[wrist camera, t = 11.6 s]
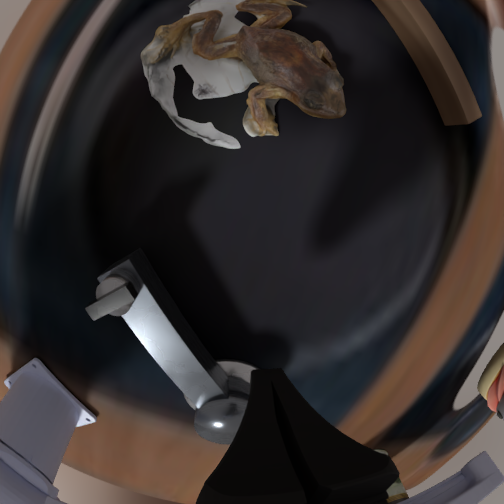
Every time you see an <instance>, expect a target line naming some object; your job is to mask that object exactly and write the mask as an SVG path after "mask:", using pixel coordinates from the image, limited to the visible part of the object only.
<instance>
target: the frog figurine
mask: <svg viewBox="0 0 504 504" xmlns="http://www.w3.org/2000/svg"><path fill="white" fill-rule="evenodd" d="M289 5H298V6H302V7H306V6H305V5H302V4H301V3H298V2H295V1H292V0H196V1H194V2H193V3H191V4H190V5H189V6H188V7H190V9H191V10H190V13H189V14H188V15H184V16H183V18H182V19H180V20H179V21H177V22H175V23H173V24H170V25H164V26H160V27H158V29H157V30H156V32H155V37H154V39H153V41H152V42H151V43H150V44H148V45H147V46H146V47H145V49H144V50H143V51H142V52H141V60H142V64H143V68H144V74H145V77H146V78H147V79H148V83H149V89H150V91H151V96H152V97H154V98H155V99H156V100H157V101H158V102H159V103H160V104H161V106H162V108H163V109H164V110H165V111H166V112H167V114H168V115H169V117H170V118H171V119H172V120H173V122H174V123H175V125H176V126H177V127H178V128H180V129H181V130H183V131H185V132H186V133H187V134H189V135H191V136H194V137H199V138H201V139H203V140H204V141H205V142H206V143H209V144H212V145H215V146H221V147H225V148H229V149H237V148H240V144H239V142H238V141H237V140H236V139H235V138H234V137H232V136H229V135H226V134H224V133H221V132H219V131H218V130H216V129H215V128H214V126H213V125H212V123H211V122H208V123H205V124H202V123H197V122H194V121H192V120H188V119H184V118H180V117H179V116H178V114H177V110H176V107H175V104H174V100H173V92H174V84H175V73H174V71H173V68H174V67H175V66H176V65H180V64H182V65H183V66H184V68H185V69H186V71H187V72H188V74H189V75H190V76H191V77H192V79H193V80H194V86H193V95H194V96H195V97H196V98H198V99H200V100H201V99H207V98H217V97H226V96H229V95H232V94H235V93H241V92H243V91H245V90H247V89H248V87H249V85H250V84H251V83H253V82H258V83H259V85H257V86H256V87H255V88H253V89H251V90H250V92H249V93H248V96H249V97H248V99H247V104H248V105H249V106H248V108H247V110H246V112H245V114H244V118H243V126H244V128H245V130H246V132H247V133H248V134H249V135H250V136H252V137H255V136H257V135H258V136H264V135H274V136H278V135H279V132H278V128H277V127H278V124H277V123H276V122H275V121H274V118H275V117H274V116H275V110H274V106H275V104H276V103H277V101H278V100H279V99H280V98H286V99H288V100H290V101H291V102H293V103H294V104H295V105H297V106H298V107H299V108H300V109H301V110H302V111H303V112H305V113H306V114H309V115H311V116H314V117H319V118H327V119H333V118H340V117H342V116H344V115H345V114H346V106H345V99H344V93H343V89H342V86H343V85H344V82H343V81H344V79H343V78H342V76H341V75H340V74H339V72H338V70H337V69H336V63H335V62H334V61H333V60H332V55H331V53H330V52H329V50H328V49H327V48H326V47H325V45H324V44H323V43H322V42H321V41H315V42H313V43H311V42H310V41H309V40H307V39H306V38H304V37H302V36H300V35H298V34H297V33H295V32H291V31H288V30H283V29H281V28H282V27H283V26H284V25H285V24H286V23H287V22H288V21H289V20H290V19H291V18H292V14H291V10H290V9H289V8H288V7H287V6H289ZM306 8H307V7H306ZM238 11H243V12H249V13H252V14H254V15H255V16H256V17H257V18H258V20H257V21H255V22H254V23H253V24H252V25H251V26H246V25H245V24H243V23H242V22H240V21H239V20H237V19H236V18H234V17H235V15H236V14H237V12H238ZM175 116H177V118H176V117H175Z"/></svg>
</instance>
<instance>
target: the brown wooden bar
mask: <svg viewBox="0 0 504 504" xmlns="http://www.w3.org/2000/svg"><path fill="white" fill-rule="evenodd" d="M372 1H373V2H374V4H375V5H376V6H377V7H378V9H379V10H380V11H381V13H382V14H383V15H384V17H385V18H386V19H387V21H388V22H389V24H390V25H391V26H392V28H393V29H394V31H395V32H396V34H397V35H398V37H399V38H400V40H401V41H402V43H403V44H404V46H405V48H406V49H407V51H408V52H409V54H410V56H411V58H412V59H413V61H414V63H415V64H416V66H417V68H418V70H419V72H420V73H421V75H422V77H423V79H424V81H425V83H426V85H427V87H428V89H429V91H430V93H431V95H432V97H433V99H434V102H435V104H436V106H437V108H438V110H439V113H440V115H441V117H442V120H443V122H444V125H445V126H449V125H461V124H470V123H471V122H473V121H475V120H476V119H478V118H480V117H482V115H481V112H480V109H479V107H478V104H477V102H476V99H475V97H474V94H473V92H472V90H471V87H470V85H469V83H468V81H467V79H466V77H465V74H464V72H463V70H462V68H461V66H460V64H459V62H458V60H457V59H456V57H455V55H454V53H453V51H452V49H451V48H450V46H449V44H448V42H447V41H446V39H445V37H444V36H443V34H442V32H441V31H440V29H439V28H438V26H437V25H436V23H435V22H434V20H433V19H432V17H431V16H430V14H429V13H428V11H427V10H426V9H425V7H424V6H423V4H422V3H421V2H420V0H372Z"/></svg>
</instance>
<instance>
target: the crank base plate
mask: <svg viewBox="0 0 504 504" xmlns="http://www.w3.org/2000/svg"><path fill="white" fill-rule="evenodd" d="M215 361H216V362H217V364H218V365H219V366H220V368H221V369H222V370H223V372H224V373H225V374H226V376H227V377H233V378H239V379H242V380H245V381H247V382H249V383H250V375H251V371H252V370H253V369H260V368H258V367H257V366H255V365H253V364H251V363H249V362H245V361H242V360H237V359H217V360H215ZM184 396H185V399H186V400H187V402H188V403H189V405H190V406H191V407H192V408H193V409H195V410H196V406H195V404H194V403H193V402H192V401H191V400H190V399H189V398H188V397H187V396H186V395H185V394H184Z"/></svg>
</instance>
